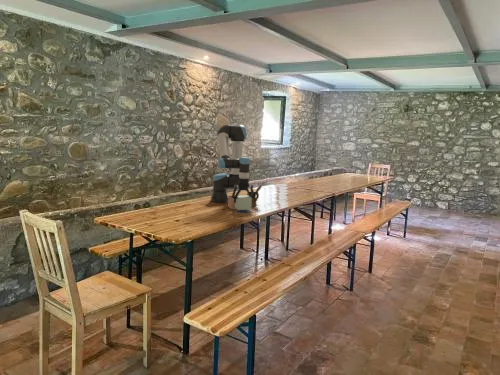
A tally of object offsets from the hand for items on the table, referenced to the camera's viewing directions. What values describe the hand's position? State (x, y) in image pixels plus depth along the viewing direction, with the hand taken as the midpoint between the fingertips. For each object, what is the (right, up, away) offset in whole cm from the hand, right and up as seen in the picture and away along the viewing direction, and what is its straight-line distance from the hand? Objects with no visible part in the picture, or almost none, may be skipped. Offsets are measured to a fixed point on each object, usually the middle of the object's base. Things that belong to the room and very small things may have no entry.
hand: (242, 207), depth 283 cm
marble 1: (-1, -3, -1) cm, 3 cm away
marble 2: (+2, -3, +1) cm, 4 cm away
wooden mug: (+8, -1, +23) cm, 24 cm away
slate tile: (0, -3, +1) cm, 3 cm away
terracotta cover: (-6, -1, +12) cm, 14 cm away
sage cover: (0, -1, 0) cm, 1 cm away
